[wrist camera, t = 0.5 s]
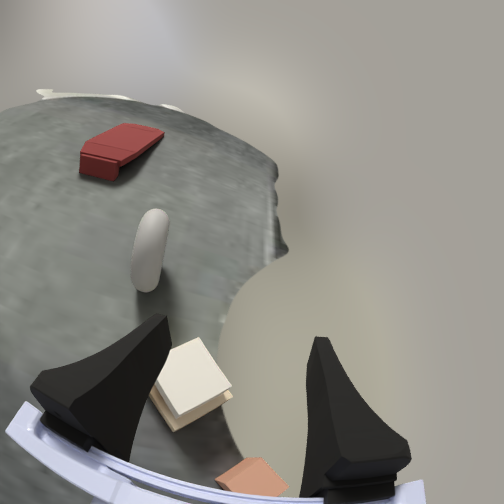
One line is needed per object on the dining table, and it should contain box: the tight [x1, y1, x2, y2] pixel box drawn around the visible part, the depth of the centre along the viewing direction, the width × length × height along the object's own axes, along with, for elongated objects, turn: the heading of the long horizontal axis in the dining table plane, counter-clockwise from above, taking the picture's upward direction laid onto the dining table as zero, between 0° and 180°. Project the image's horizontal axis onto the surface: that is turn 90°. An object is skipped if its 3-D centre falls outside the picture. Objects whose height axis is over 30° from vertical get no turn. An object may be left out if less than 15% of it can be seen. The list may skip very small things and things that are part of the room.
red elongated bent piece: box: [79, 123, 165, 181], centre depth 52 cm, size 12×5×25 cm
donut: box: [131, 209, 170, 292], centre depth 31 cm, size 10×4×10 cm, turn 4°
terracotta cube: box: [215, 458, 289, 497], centre depth 19 cm, size 4×4×4 cm
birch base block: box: [149, 384, 233, 432], centre depth 25 cm, size 7×7×3 cm
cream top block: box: [155, 337, 232, 419], centre depth 23 cm, size 6×6×3 cm
